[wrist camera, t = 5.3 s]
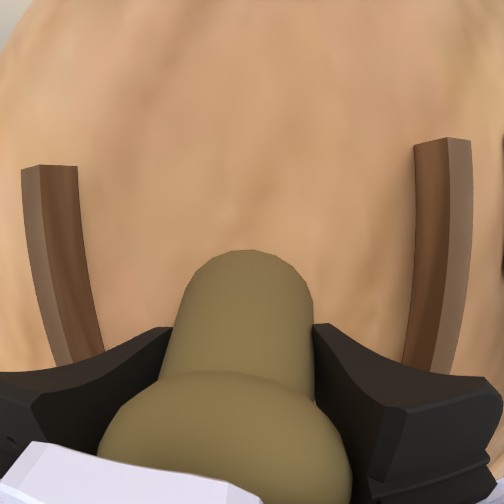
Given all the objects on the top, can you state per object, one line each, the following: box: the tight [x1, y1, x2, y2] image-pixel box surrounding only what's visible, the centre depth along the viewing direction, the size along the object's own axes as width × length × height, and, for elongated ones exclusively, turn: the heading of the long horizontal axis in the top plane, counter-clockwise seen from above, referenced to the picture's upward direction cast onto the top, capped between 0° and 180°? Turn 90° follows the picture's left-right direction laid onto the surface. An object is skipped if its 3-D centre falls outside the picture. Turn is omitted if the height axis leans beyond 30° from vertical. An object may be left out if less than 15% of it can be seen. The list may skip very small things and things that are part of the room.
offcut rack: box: [21, 137, 473, 405], centre depth 13 cm, size 18×15×3 cm
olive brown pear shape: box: [97, 250, 353, 504], centre depth 9 cm, size 6×6×11 cm
